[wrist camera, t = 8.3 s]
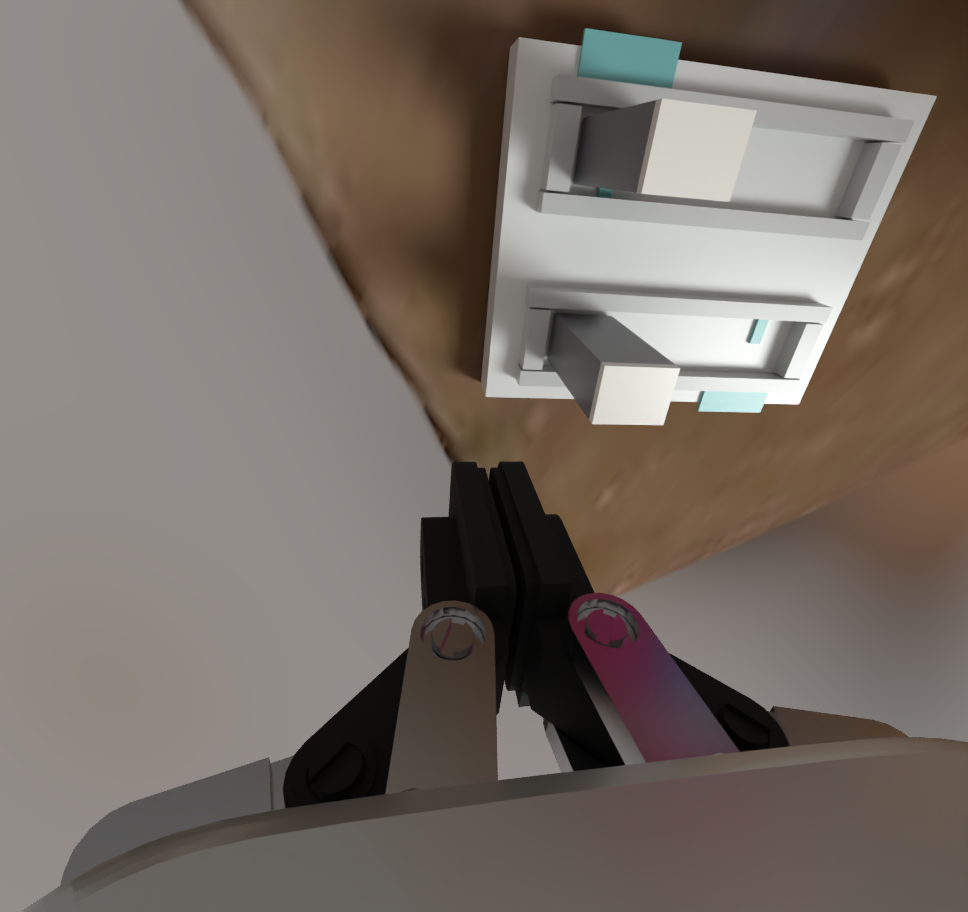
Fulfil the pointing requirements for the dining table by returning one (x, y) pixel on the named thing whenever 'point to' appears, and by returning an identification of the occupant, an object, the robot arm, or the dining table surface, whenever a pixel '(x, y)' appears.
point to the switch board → (687, 221)
